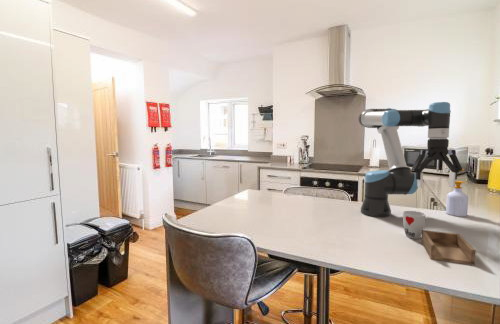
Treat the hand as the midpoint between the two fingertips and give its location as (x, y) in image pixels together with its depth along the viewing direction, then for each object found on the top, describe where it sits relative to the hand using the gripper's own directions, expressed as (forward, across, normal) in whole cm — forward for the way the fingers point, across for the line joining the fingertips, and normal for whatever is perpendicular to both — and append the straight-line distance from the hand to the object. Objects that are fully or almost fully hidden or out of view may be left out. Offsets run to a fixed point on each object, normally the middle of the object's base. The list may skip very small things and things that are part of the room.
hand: (435, 187), depth 118 cm
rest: (+20, -10, -24) cm, 33 cm away
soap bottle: (+20, +28, +26) cm, 43 cm away
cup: (+20, -13, -8) cm, 25 cm away
